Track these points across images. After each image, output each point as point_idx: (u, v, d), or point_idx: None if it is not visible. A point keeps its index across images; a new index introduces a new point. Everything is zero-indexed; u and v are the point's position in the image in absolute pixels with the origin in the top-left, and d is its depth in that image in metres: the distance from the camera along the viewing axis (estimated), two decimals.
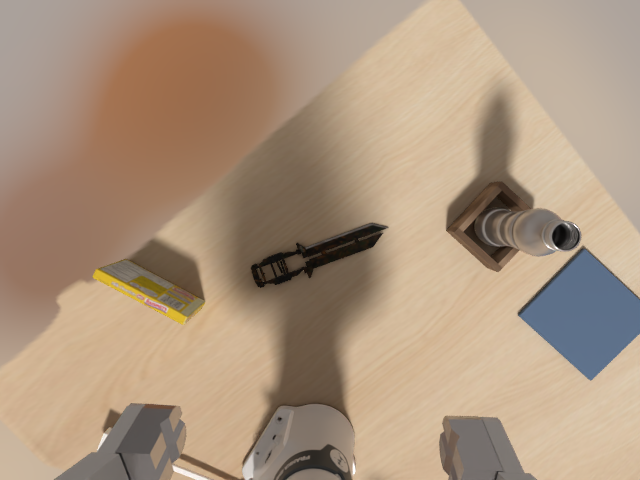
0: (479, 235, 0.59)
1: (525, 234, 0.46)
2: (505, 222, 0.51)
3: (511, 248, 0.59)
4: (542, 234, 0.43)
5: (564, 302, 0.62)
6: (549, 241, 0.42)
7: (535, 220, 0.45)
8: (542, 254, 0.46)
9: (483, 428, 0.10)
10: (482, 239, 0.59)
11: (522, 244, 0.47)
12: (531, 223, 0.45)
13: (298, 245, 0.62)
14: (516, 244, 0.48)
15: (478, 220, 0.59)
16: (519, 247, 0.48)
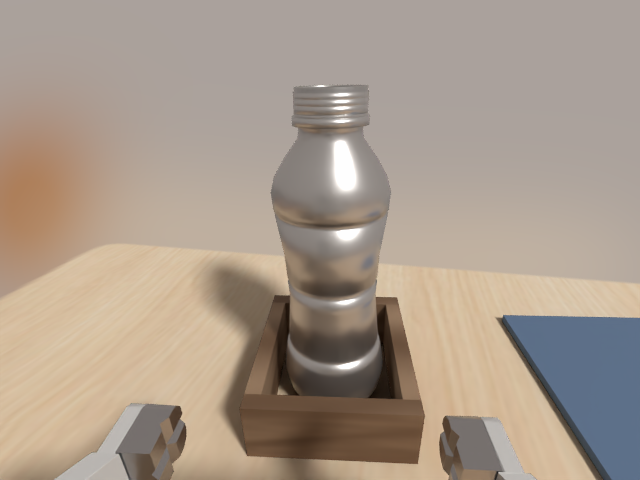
0: (312, 387, 0.22)
1: (291, 172, 0.17)
2: (285, 258, 0.21)
3: (394, 360, 0.23)
4: (299, 120, 0.17)
5: (622, 400, 0.23)
6: (310, 94, 0.16)
7: (286, 155, 0.19)
8: (366, 180, 0.17)
9: (483, 428, 0.10)
10: (325, 388, 0.22)
11: (312, 193, 0.17)
12: (283, 160, 0.19)
13: None
14: (310, 218, 0.17)
15: (287, 366, 0.24)
16: (319, 213, 0.17)
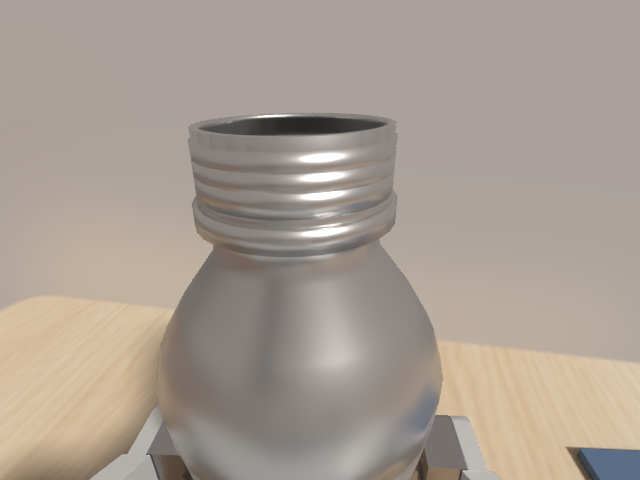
0: None
1: (186, 353, 0.06)
2: None
3: None
4: (202, 220, 0.06)
5: None
6: (222, 155, 0.05)
7: None
8: (391, 387, 0.06)
9: (451, 427, 0.10)
10: None
11: (236, 431, 0.06)
12: (184, 295, 0.08)
13: None
14: None
15: None
16: None
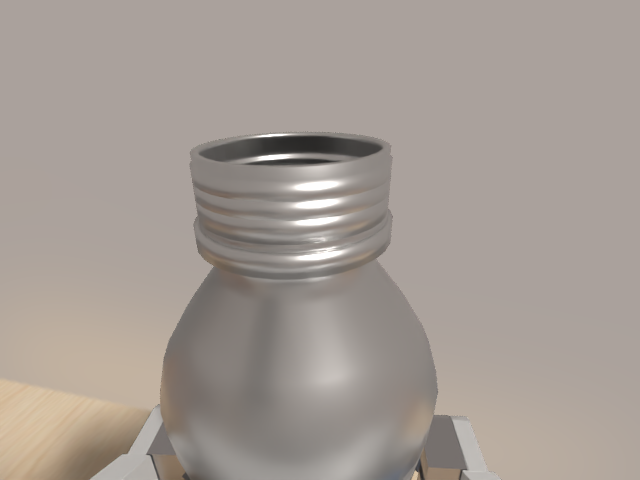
0: None
1: (188, 368, 0.07)
2: None
3: None
4: (203, 241, 0.06)
5: None
6: (222, 183, 0.05)
7: (197, 290, 0.08)
8: (385, 403, 0.06)
9: (451, 427, 0.10)
10: None
11: (236, 445, 0.06)
12: (186, 309, 0.08)
13: None
14: None
15: None
16: None
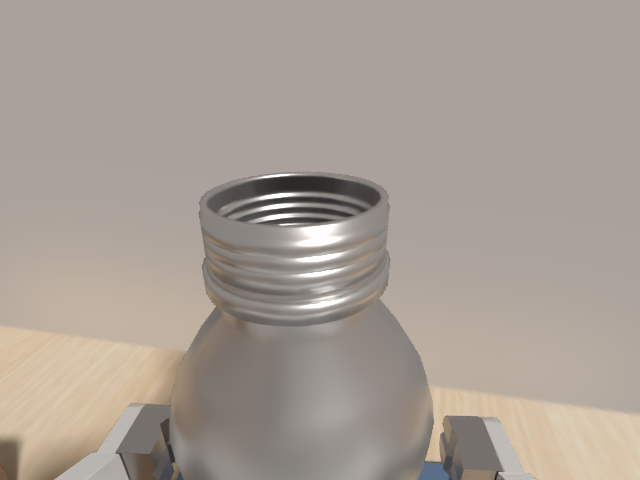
0: None
1: (196, 402, 0.07)
2: None
3: None
4: (211, 286, 0.07)
5: None
6: (229, 239, 0.06)
7: (204, 322, 0.09)
8: (382, 439, 0.07)
9: (483, 428, 0.10)
10: None
11: (241, 478, 0.07)
12: (194, 341, 0.08)
13: None
14: None
15: None
16: None
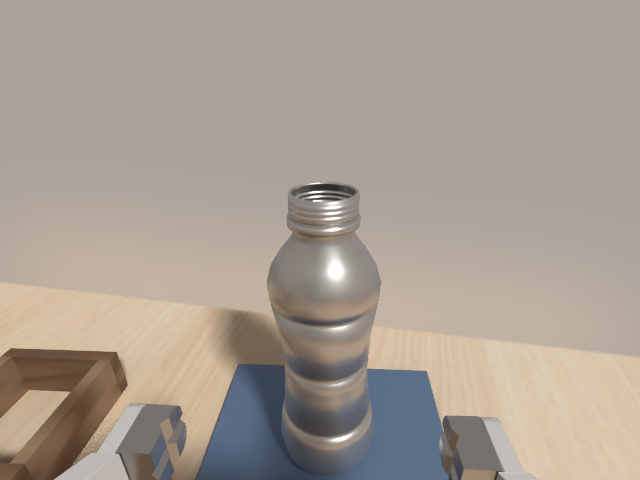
0: (305, 457, 0.23)
1: (285, 271, 0.18)
2: (280, 338, 0.22)
3: None
4: (292, 225, 0.18)
5: (259, 456, 0.26)
6: (303, 206, 0.17)
7: (281, 247, 0.20)
8: (356, 282, 0.18)
9: (483, 428, 0.10)
10: (317, 459, 0.23)
11: (304, 295, 0.18)
12: (279, 253, 0.20)
13: None
14: (302, 316, 0.18)
15: (282, 432, 0.25)
16: (311, 314, 0.18)
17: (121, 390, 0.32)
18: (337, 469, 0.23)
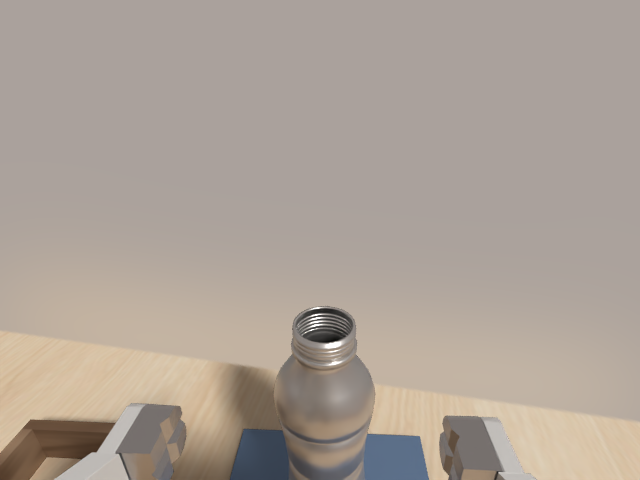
0: None
1: (290, 394, 0.21)
2: None
3: None
4: (297, 356, 0.20)
5: None
6: (306, 345, 0.19)
7: (286, 363, 0.22)
8: (353, 406, 0.20)
9: (483, 428, 0.10)
10: None
11: (307, 419, 0.20)
12: (284, 371, 0.22)
13: None
14: (305, 436, 0.21)
15: None
16: (313, 435, 0.20)
17: None
18: None
